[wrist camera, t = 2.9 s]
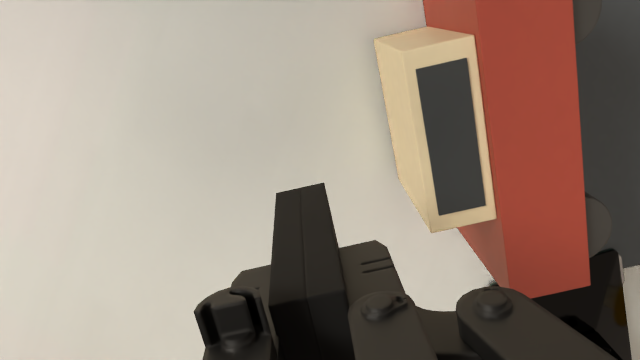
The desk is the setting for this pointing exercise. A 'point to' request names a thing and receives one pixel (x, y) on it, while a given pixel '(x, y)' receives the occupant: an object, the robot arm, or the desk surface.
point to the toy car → (498, 134)
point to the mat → (613, 120)
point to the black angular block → (596, 305)
